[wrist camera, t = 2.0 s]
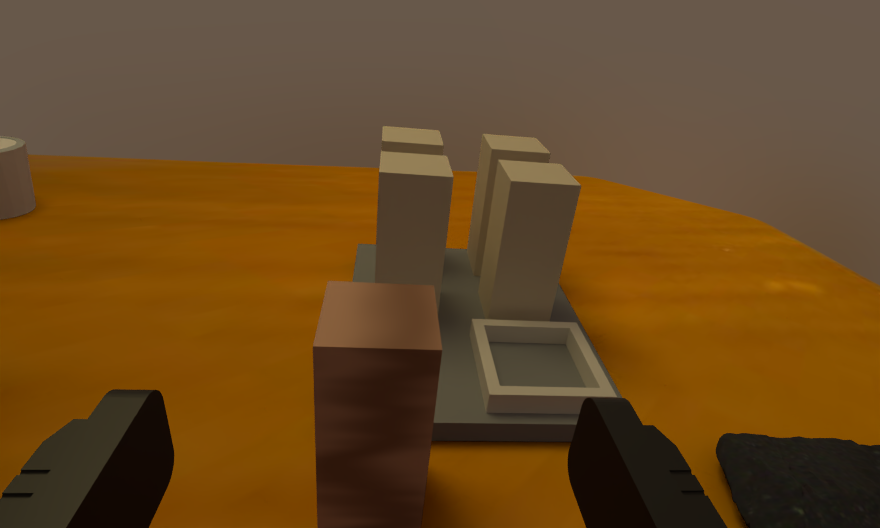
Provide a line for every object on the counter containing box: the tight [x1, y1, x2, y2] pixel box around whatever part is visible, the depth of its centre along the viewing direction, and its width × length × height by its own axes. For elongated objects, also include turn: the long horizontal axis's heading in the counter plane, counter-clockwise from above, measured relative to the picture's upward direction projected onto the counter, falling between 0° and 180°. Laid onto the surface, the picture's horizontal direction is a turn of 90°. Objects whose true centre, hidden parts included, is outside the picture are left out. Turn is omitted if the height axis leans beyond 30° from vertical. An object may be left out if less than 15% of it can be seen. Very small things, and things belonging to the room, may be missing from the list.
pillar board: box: [353, 126, 622, 442], centre depth 39 cm, size 19×24×14 cm
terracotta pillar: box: [313, 281, 442, 528], centre depth 25 cm, size 5×5×12 cm
